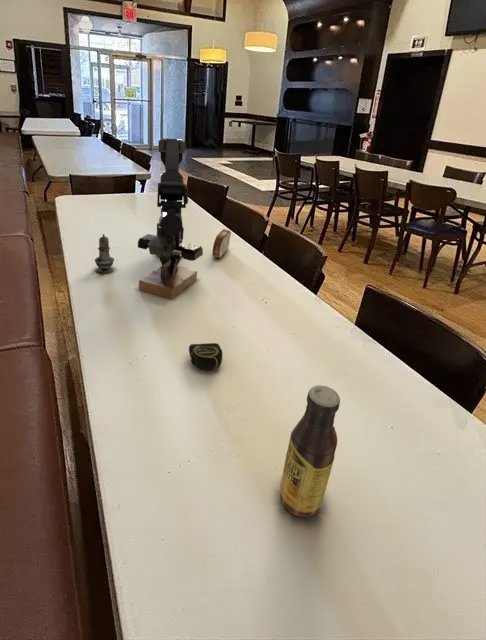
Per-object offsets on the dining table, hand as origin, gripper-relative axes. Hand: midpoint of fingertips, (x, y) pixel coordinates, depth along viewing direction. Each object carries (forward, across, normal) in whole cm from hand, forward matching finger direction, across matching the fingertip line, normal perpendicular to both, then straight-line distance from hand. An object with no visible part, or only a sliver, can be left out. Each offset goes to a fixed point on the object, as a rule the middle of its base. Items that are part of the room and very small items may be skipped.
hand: (169, 273), depth 122 cm
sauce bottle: (+4, +53, -52) cm, 74 cm away
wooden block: (+4, 0, 0) cm, 4 cm away
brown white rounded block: (+4, +3, +32) cm, 32 cm away
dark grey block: (0, 0, 0) cm, 0 cm away
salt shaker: (+4, -22, -2) cm, 22 cm away
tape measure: (+4, +26, -29) cm, 39 cm away
